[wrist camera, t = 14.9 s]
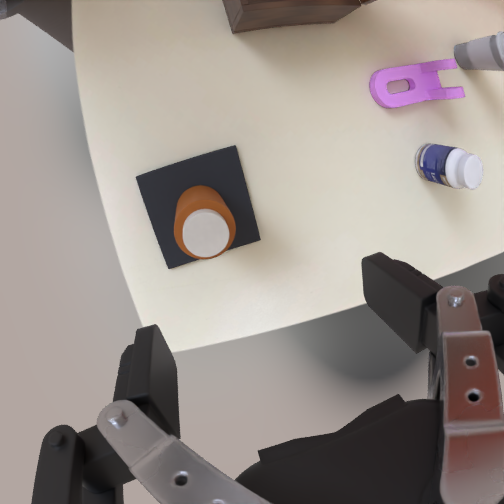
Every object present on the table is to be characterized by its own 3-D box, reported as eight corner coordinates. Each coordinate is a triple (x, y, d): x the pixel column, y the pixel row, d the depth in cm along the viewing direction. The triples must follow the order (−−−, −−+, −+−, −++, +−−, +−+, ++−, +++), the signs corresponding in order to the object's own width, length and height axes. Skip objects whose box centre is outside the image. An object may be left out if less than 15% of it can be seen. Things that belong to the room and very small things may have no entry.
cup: (475, 52, 36) (525, 48, 24) (473, 82, 37) (525, 81, 26) (450, 31, 34) (502, 22, 23) (447, 62, 36) (503, 56, 25)
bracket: (428, 63, 35) (459, 58, 29) (437, 96, 37) (469, 95, 31) (364, 73, 34) (394, 65, 28) (376, 111, 37) (408, 109, 30)
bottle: (184, 237, 37) (185, 274, 27) (170, 193, 35) (164, 215, 25) (229, 223, 38) (245, 254, 28) (216, 179, 35) (228, 194, 26)
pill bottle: (411, 176, 41) (458, 189, 32) (416, 139, 39) (465, 145, 30) (436, 182, 42) (482, 196, 33) (441, 148, 40) (488, 156, 31)
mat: (168, 267, 38) (168, 269, 38) (136, 176, 34) (135, 177, 33) (259, 238, 40) (260, 240, 39) (235, 145, 35) (235, 145, 35)
